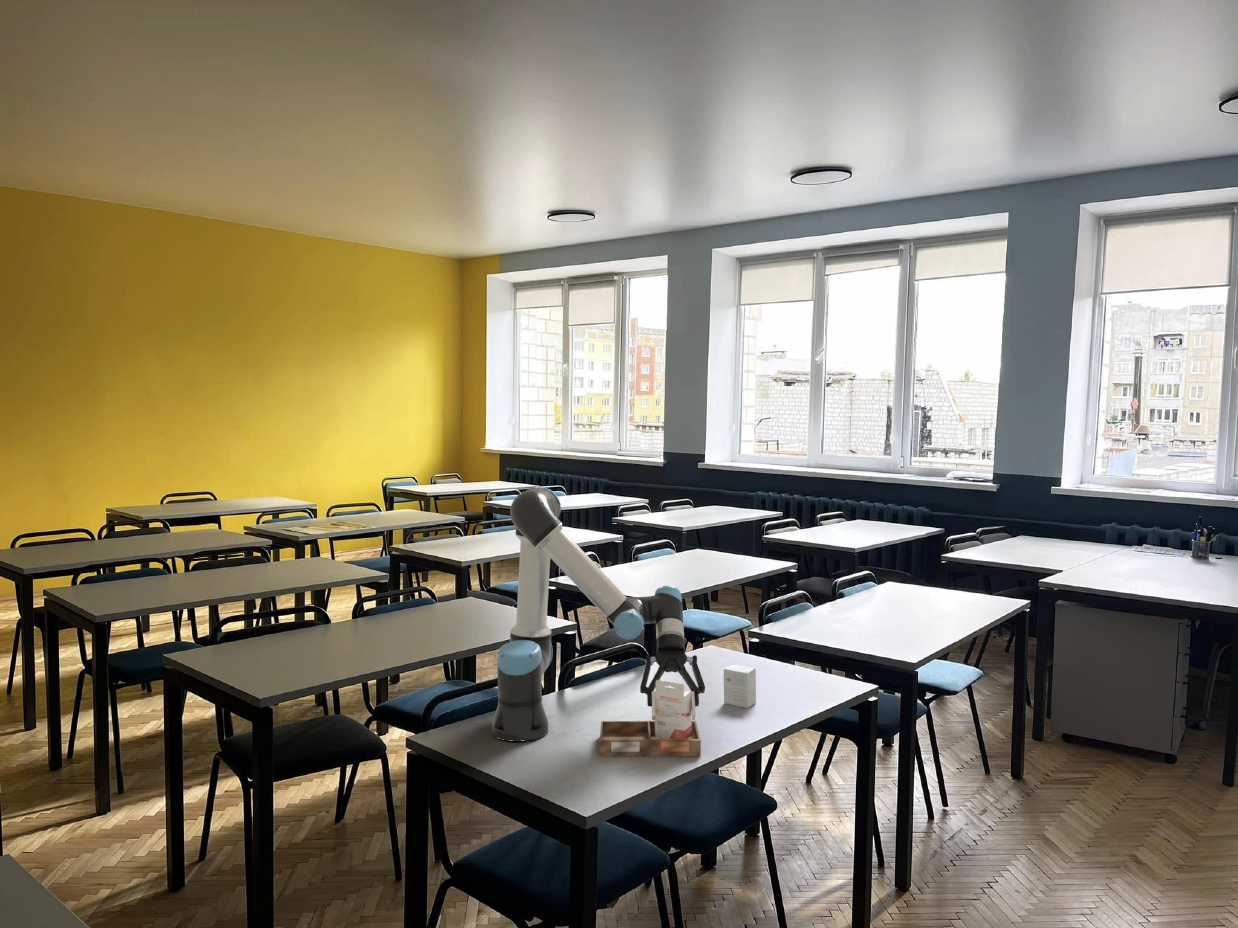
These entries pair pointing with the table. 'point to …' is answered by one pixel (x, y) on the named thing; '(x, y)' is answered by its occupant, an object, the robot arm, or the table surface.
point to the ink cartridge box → (672, 711)
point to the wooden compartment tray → (644, 740)
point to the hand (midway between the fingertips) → (673, 717)
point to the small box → (739, 686)
